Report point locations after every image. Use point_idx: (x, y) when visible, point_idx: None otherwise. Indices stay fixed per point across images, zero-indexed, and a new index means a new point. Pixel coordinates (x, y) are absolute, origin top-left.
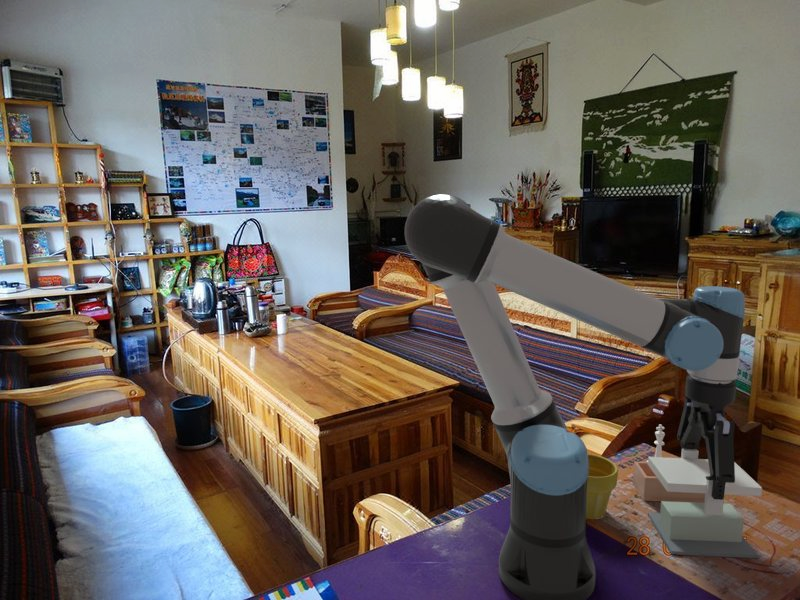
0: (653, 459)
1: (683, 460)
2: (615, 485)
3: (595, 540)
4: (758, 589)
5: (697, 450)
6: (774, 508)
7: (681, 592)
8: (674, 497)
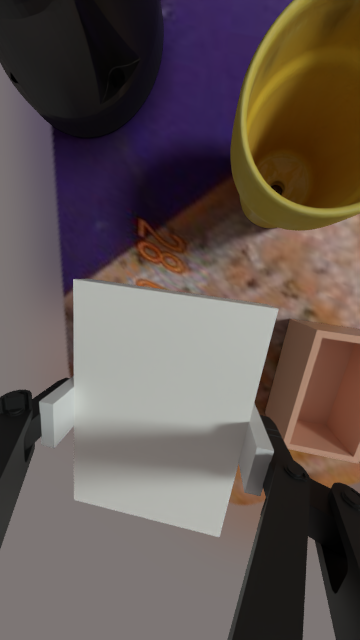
0: (252, 318)
1: (232, 415)
2: (254, 211)
3: (177, 176)
4: (73, 355)
5: (249, 491)
6: (236, 486)
7: (62, 260)
8: (280, 371)
